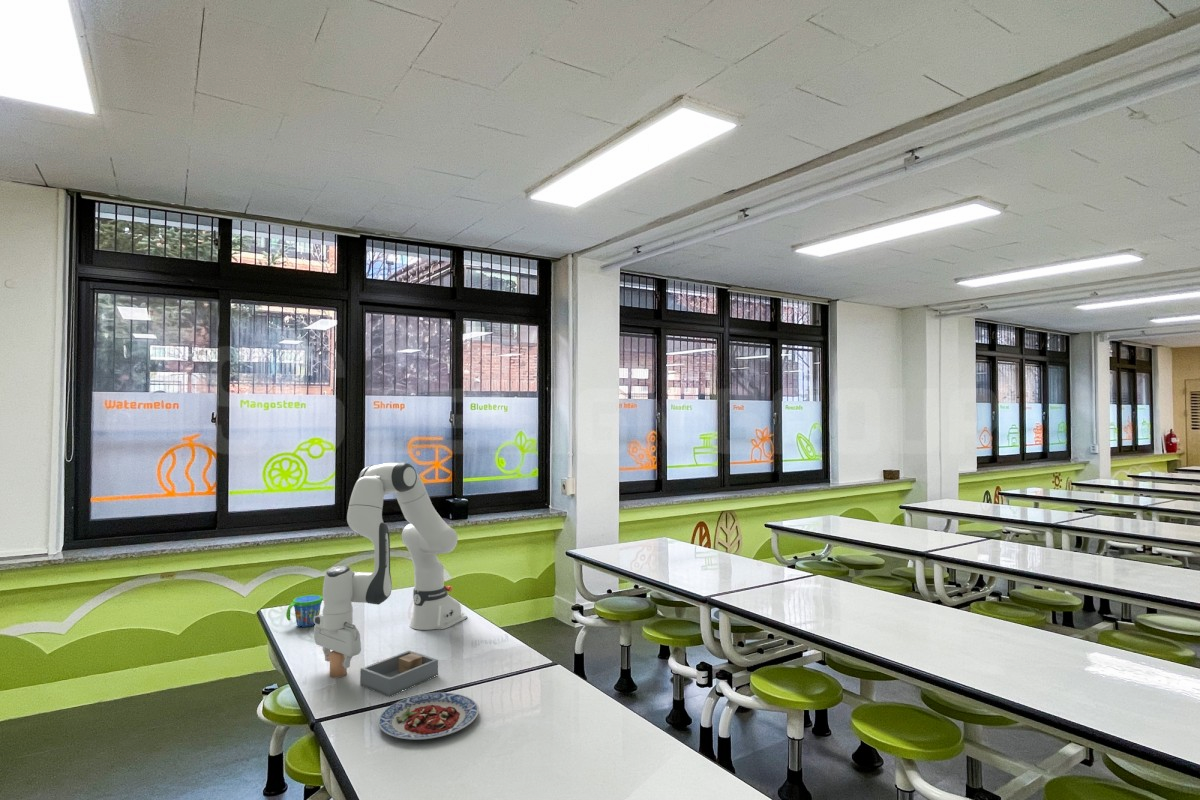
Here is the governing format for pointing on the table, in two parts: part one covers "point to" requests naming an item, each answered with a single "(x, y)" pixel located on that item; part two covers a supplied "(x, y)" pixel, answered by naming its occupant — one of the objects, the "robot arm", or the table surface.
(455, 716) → the ceramic plate
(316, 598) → the snack cup
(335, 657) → the terracotta cylinder
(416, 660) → the walnut cube
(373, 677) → the tote
